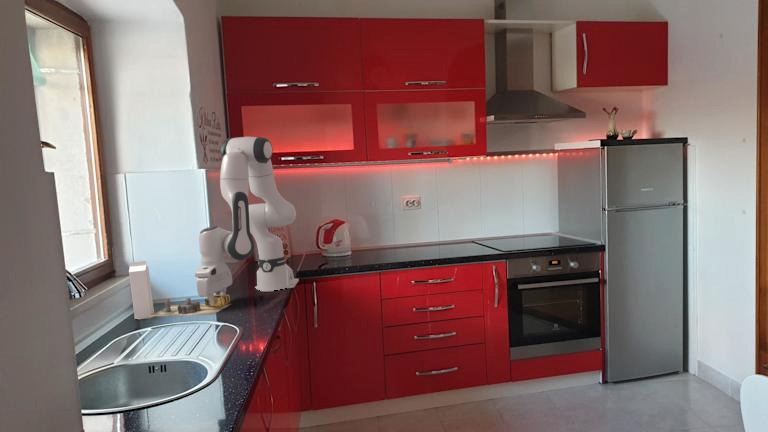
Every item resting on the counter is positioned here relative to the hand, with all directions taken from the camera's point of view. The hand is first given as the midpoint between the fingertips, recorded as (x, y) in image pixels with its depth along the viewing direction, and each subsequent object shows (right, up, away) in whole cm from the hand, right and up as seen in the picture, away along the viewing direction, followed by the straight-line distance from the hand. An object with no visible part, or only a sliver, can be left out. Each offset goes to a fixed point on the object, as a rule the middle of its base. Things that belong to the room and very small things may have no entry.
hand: (217, 302), depth 204 cm
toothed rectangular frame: (0, -1, 0) cm, 1 cm away
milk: (-28, -6, -3) cm, 29 cm away
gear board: (-9, -4, -3) cm, 11 cm away
